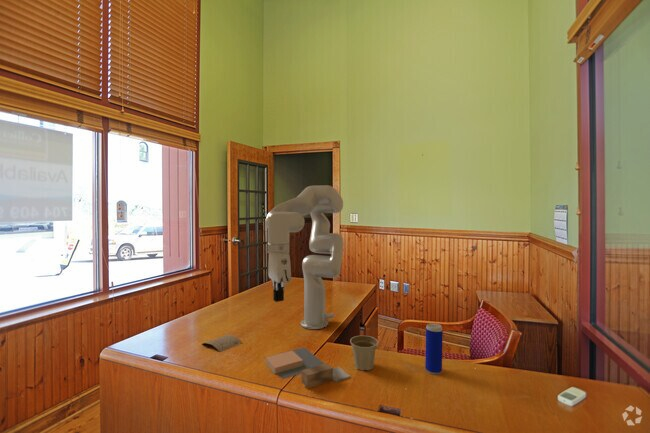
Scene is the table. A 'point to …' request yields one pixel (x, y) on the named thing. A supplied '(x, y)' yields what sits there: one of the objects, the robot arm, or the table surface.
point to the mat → (308, 362)
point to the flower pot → (364, 351)
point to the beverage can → (434, 348)
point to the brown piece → (322, 375)
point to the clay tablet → (225, 342)
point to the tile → (284, 362)
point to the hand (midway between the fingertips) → (278, 300)
